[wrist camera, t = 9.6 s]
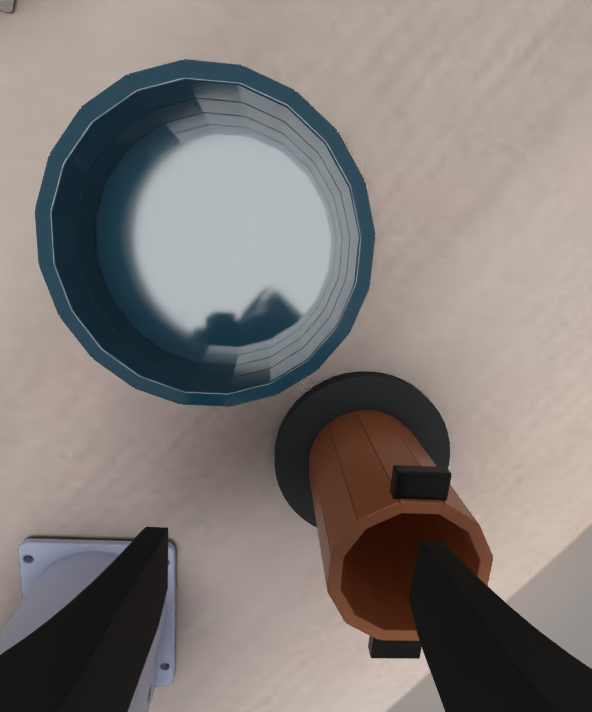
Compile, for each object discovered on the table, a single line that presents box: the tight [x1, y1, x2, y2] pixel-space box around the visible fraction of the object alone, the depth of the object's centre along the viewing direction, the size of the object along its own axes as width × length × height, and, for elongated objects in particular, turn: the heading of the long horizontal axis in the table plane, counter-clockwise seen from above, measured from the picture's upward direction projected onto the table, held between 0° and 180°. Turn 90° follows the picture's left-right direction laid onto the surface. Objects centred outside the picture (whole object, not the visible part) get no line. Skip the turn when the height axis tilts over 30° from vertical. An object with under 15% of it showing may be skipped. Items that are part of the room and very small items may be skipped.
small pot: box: [309, 410, 493, 658], centre depth 19 cm, size 7×6×8 cm
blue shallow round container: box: [35, 59, 375, 407], centre depth 18 cm, size 12×12×4 cm
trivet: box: [275, 372, 450, 527], centre depth 23 cm, size 9×9×1 cm
